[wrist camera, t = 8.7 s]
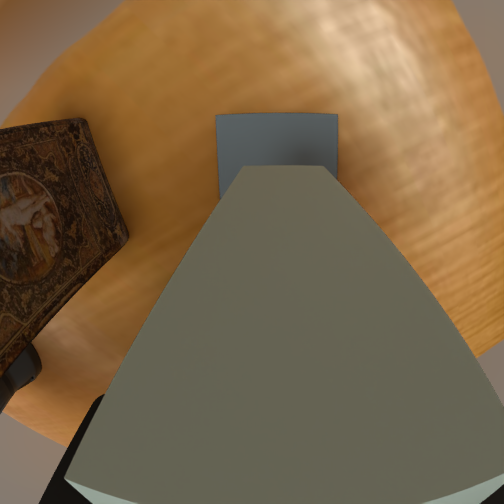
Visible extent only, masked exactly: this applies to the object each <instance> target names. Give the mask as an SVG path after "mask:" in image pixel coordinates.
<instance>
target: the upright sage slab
mask: <svg viewBox="0 0 504 504" xmlns="http://www.w3.org/2000/svg"><path fill="white" fill-rule="evenodd" d="M64 479H65V480H66V481H67V482H68V483H70V484H71V485H72V486H73V487H74V488H75V489H76V490H77V491H78V492H80V493H81V494H82V495H83V496H84V497H85V498H87V499H88V500H89V501H90V502H91V503H93V504H480V503H481V502H482V501H484V500H485V499H486V498H487V497H489V496H490V495H491V494H492V493H494V492H495V491H496V490H497V489H499V488H500V487H501V486H502V485H503V484H504V407H503V405H502V403H501V401H500V399H499V397H498V395H497V394H496V392H495V390H494V388H493V386H492V385H491V383H490V381H489V379H488V378H487V376H486V374H485V373H484V371H483V369H482V368H481V366H480V364H479V363H478V361H477V359H476V358H475V356H474V355H473V353H472V351H471V350H470V348H469V347H468V345H467V343H466V342H465V340H464V339H463V337H462V336H461V334H460V333H459V331H458V330H457V328H456V327H455V325H454V324H453V322H452V321H451V319H450V318H449V317H448V315H447V314H446V312H445V311H444V309H443V308H442V307H441V305H440V304H439V302H438V301H437V300H436V298H435V297H434V295H433V294H432V293H431V291H430V290H429V289H428V287H427V286H426V285H425V283H424V282H423V281H422V279H421V278H420V277H419V275H418V274H417V273H416V271H415V270H414V269H413V268H412V266H411V265H410V264H409V263H408V261H407V260H406V259H405V257H404V256H403V255H402V254H401V252H400V251H399V250H398V249H397V248H396V246H395V245H394V244H393V243H392V241H391V240H390V239H389V238H388V237H387V235H386V234H385V233H384V232H383V231H382V230H381V228H380V227H379V226H378V225H377V224H376V223H375V221H374V220H373V219H372V218H371V217H370V216H369V215H368V213H367V212H366V211H365V210H364V209H363V208H362V207H361V206H360V204H359V203H358V202H357V201H356V200H355V199H354V198H353V197H352V196H351V194H350V193H349V192H348V191H347V190H346V189H345V188H344V187H343V186H342V185H341V184H340V183H339V182H338V181H337V180H336V178H335V177H334V176H333V175H332V174H331V173H330V172H329V171H328V170H327V169H326V168H325V167H324V166H305V165H262V166H243V167H242V168H241V170H240V171H239V173H238V174H237V176H236V177H235V179H234V180H233V182H232V183H231V185H230V186H229V188H228V189H227V191H226V192H225V194H224V195H223V197H222V198H221V200H220V201H219V203H218V204H217V206H216V207H215V209H214V210H213V212H212V213H211V215H210V216H209V218H208V220H207V221H206V223H205V224H204V226H203V227H202V229H201V230H200V232H199V234H198V235H197V237H196V238H195V240H194V241H193V243H192V245H191V246H190V248H189V249H188V251H187V253H186V254H185V256H184V257H183V259H182V261H181V262H180V264H179V266H178V267H177V269H176V270H175V272H174V274H173V275H172V277H171V279H170V280H169V282H168V284H167V285H166V287H165V289H164V290H163V292H162V294H161V295H160V297H159V299H158V300H157V302H156V304H155V305H154V307H153V309H152V311H151V312H150V314H149V316H148V317H147V319H146V321H145V323H144V324H143V326H142V328H141V330H140V331H139V333H138V335H137V337H136V338H135V340H134V342H133V344H132V346H131V347H130V349H129V351H128V353H127V354H126V356H125V358H124V360H123V362H122V364H121V365H120V367H119V369H118V371H117V373H116V375H115V376H114V378H113V380H112V382H111V384H110V386H109V388H108V390H107V391H106V393H105V395H104V397H103V399H102V401H101V403H100V405H99V407H98V409H97V411H96V413H95V415H94V417H93V419H92V421H91V423H90V425H89V427H88V429H87V431H86V433H85V435H84V437H83V439H82V441H81V443H80V445H79V447H78V449H77V451H76V453H75V455H74V457H73V460H72V462H71V464H70V466H69V468H68V470H67V472H66V475H65V477H64Z"/></svg>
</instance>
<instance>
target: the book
mask: <svg viewBox="0 0 504 504" xmlns="http://www.w3.org/2000/svg"><path fill="white" fill-rule="evenodd" d="M128 238H129V235H128V231H127V229H126V226H125V224H124V221H123V219H122V216H121V214H120V211H119V208H118V206H117V204H116V201H115V199H114V196H113V194H112V191H111V188H110V186H109V183H108V181H107V178H106V175H105V173H104V170H103V167H102V165H101V162H100V159H99V156H98V154H97V151H96V148H95V145H94V142H93V139H92V136H91V133H90V130H89V127H88V124H87V121H86V120H84V119H82V118H74V119H64V120H56V121H48V122H40V123H34V124H27V125H21V126H15V127H10V128H4V129H0V379H1V378H2V376H3V375H4V374H5V373H6V371H7V370H8V369H9V368H10V367H11V365H12V364H13V363H14V362H15V360H16V359H17V358H18V357H19V356H20V354H21V353H22V352H23V351H24V350H25V349H26V347H27V346H28V345H29V344H30V343H31V342H32V340H33V339H34V338H35V337H36V336H37V335H38V334H39V332H40V331H41V330H42V329H43V328H44V327H45V326H46V325H47V324H48V322H49V321H50V320H51V319H52V318H53V317H54V316H55V315H56V314H57V313H58V312H59V310H60V309H61V308H62V307H63V306H64V305H65V304H66V303H67V302H68V301H69V300H70V299H71V298H72V297H73V296H74V295H75V294H76V293H77V291H78V290H79V289H80V288H81V287H82V286H83V285H84V284H85V283H86V282H87V281H88V280H89V279H90V278H91V277H92V276H93V275H94V274H95V273H96V272H97V271H98V270H99V269H100V268H101V267H102V266H103V265H104V264H105V263H107V262H108V261H109V260H110V259H111V258H112V257H113V256H114V255H115V254H116V253H117V252H118V251H119V250H120V249H121V248H122V247H123V246H124V245H125V244H126V242H127V241H128Z"/></svg>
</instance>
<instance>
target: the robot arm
mask: <svg viewBox="0 0 504 504" xmlns="http://www.w3.org/2000/svg"><path fill="white" fill-rule="evenodd" d="M40 372H41V362H40V359H39V356H38V354H37V352H36V351H35V349H34V347H33V346H32V344H31V343H30V344H29V345H28V346H27V347H26V349H25V350H24V351H23V352H22V353H21V354H20V356H19V357H18V358H17V359H16V360H15V362H14V363H13V364H12V365H11V367H10V368H9V369H8V370H7V371H6V373H5V374H4V375H3V376H2V378H1V379H0V414H1V412H2V411H3V409H4V408H5V406H6V405H7V403H8V402H9V400H10V399H11V397H12V396H13V395H14V393H15V392H16V391H18V390H19V389H21V388H22V387H24V386H26V385H27V384H29V383H30V382H32V381H34V380H35V379H36V378H37V376H38V375H39V373H40ZM104 395H105V394H103V395H101V396H100V397H98V398H97V399H96V400H95V401H94V402H93V404H92V405H91V407H90V409H89V411H88V412H87V414H86V416H85V418H84V419H83V421H82V423H81V425H80V426H79V428H78V430H77V432H76V434H75V435H74V437H73V439H72V441H71V443H70V444H69V446H68V448H67V450H66V452H65V454H64V455H63V457H62V459H61V461H60V463H59V465H58V467H57V469H56V471H55V472H54V474H53V477H52V478H51V480H50V482H49V484H48V486H47V488H46V490H45V492H44V494H43V496H42V498H41V500H40V502H39V504H93V503H91V502H90V501H89V500H88V499H87V498H85V497H84V496H83V495H82V494H81V493H80V492H78V491H77V490H76V489H75V488H74V487H73V486H72V485H71V484H70V483H68V482H67V481H66V480H65V479H64V477H65V475H66V472H67V470H68V468H69V466H70V464H71V462H72V460H73V457H74V455H75V453H76V451H77V449H78V447H79V445H80V443H81V441H82V439H83V437H84V435H85V433H86V431H87V429H88V427H89V425H90V423H91V421H92V419H93V417H94V415H95V413H96V411H97V409H98V407H99V405H100V403H101V401H102V399H103V397H104ZM480 504H504V484H503V485H502V486H501V487H500V488H499V489H497V490H496V491H495V492H494V493H492V494H491V495H490V496H489V497H487V498H486V499H485V500H484V501H482V502H481V503H480Z"/></svg>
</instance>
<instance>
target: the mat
mask: <svg viewBox="0 0 504 504" xmlns="http://www.w3.org/2000/svg"><path fill="white" fill-rule="evenodd" d="M216 135H217V155H218V173H219V190H220V200H221V198H222V197H223V195H224V194H225V192H226V191H227V189H228V188H229V186H230V185H231V183H232V182H233V180H234V179H235V177H236V176H237V174H238V173H239V171H240V170H241V168H242V167H243V166H262V165H305V166H324V167H325V168H326V169H327V170H328V171H329V172H330V173H331V174H332V175H333V176H334V177H335V178H336V180H337V160H338V115H337V114H315V113H252V114H229V115H216Z"/></svg>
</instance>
